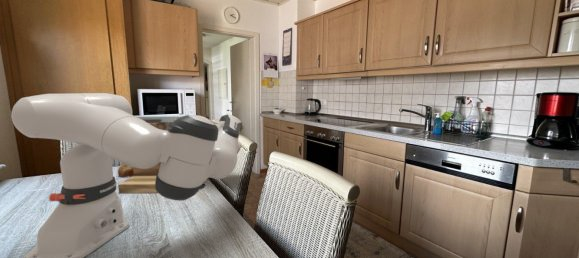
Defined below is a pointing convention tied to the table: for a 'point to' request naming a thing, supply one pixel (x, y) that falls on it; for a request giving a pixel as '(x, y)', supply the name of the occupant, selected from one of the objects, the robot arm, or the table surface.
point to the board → (138, 185)
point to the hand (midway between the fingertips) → (178, 118)
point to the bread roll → (125, 171)
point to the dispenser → (155, 170)
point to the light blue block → (163, 118)
